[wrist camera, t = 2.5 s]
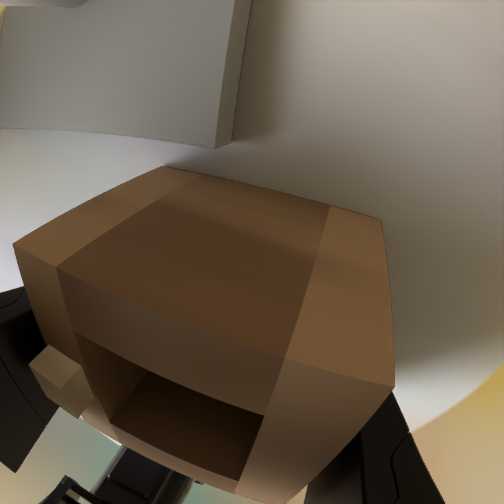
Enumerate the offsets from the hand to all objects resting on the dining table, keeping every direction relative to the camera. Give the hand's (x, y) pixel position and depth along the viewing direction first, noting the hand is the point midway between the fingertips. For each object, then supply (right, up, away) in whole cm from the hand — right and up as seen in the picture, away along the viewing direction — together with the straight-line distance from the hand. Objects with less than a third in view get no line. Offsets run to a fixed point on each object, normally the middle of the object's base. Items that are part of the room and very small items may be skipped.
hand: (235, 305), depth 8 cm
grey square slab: (-4, +10, -3) cm, 11 cm away
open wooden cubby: (0, 0, +1) cm, 1 cm away
